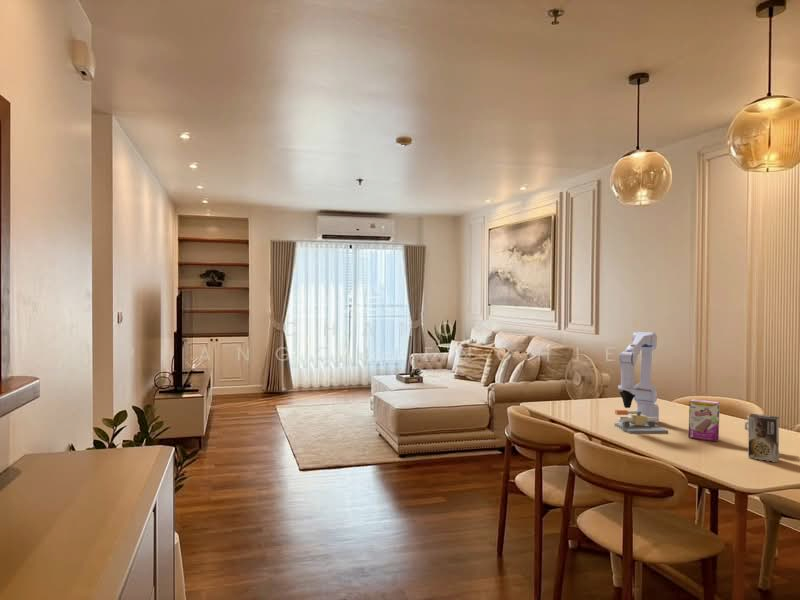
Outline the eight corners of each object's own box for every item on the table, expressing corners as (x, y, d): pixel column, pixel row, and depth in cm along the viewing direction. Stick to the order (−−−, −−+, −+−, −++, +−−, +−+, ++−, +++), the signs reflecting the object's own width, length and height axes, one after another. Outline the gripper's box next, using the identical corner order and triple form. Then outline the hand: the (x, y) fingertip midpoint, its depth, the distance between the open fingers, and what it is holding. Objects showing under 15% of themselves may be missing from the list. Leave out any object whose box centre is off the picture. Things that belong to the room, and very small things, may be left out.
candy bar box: (688, 438, 228) (688, 400, 227) (689, 435, 232) (690, 398, 232) (718, 442, 221) (719, 403, 221) (719, 440, 225) (719, 401, 225)
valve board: (651, 425, 250) (651, 412, 250) (668, 433, 236) (668, 418, 236) (614, 425, 249) (614, 412, 249) (629, 433, 235) (629, 418, 235)
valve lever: (639, 413, 246) (639, 409, 246) (642, 414, 243) (642, 411, 243) (614, 413, 245) (614, 409, 245) (617, 414, 242) (617, 411, 242)
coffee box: (779, 459, 198) (779, 416, 198) (776, 463, 193) (777, 419, 193) (750, 454, 204) (750, 413, 204) (747, 458, 199) (748, 415, 199)
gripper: (611, 375, 248) (611, 404, 248) (626, 380, 233) (626, 411, 233) (626, 375, 248) (626, 404, 248) (642, 380, 234) (641, 411, 234)
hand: (627, 407), depth 241 cm, fingers closed
